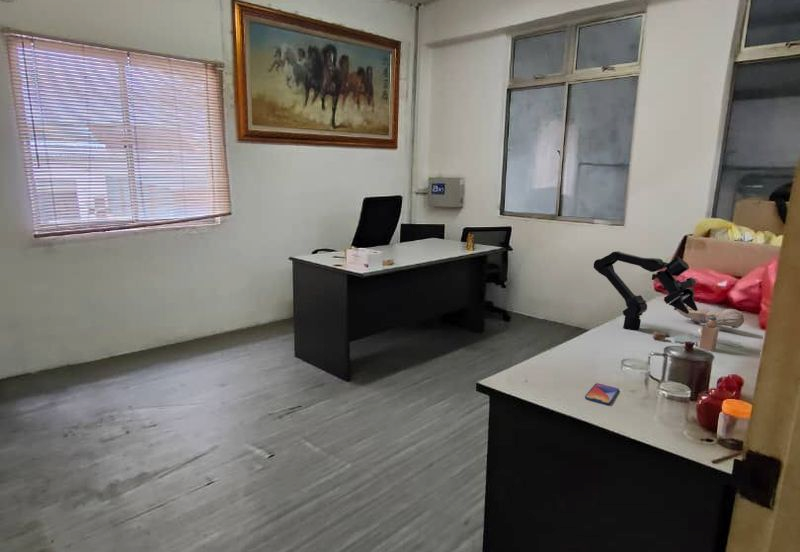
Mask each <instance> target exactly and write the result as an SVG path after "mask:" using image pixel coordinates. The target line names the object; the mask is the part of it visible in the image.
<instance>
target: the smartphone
mask: <svg viewBox="0 0 800 552" xmlns="http://www.w3.org/2000/svg"><path fill="white" fill-rule="evenodd" d="M619 391H620V389H619V388H618V387H615V386H610V385H606V384H602V383H595V384H594V385H593V386H592V387H591V388H590V389H589V390H588V392H587V393H586V394H585V395H584V399H585V400H587V401H590V402H594V403H597V404H601V405H604V406H610V405H611V404H612V403H613V401H614V399H615V397H616V396H617V395H618V393H619Z"/></svg>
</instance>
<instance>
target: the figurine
mask: <svg viewBox="0 0 800 552" xmlns="http://www.w3.org/2000/svg"><path fill="white" fill-rule="evenodd" d="M685 306H686V308H687V309H688V311H689V313H688V314H686V313H684V312H682V311H681V310H679V309H677V308H675V307H673V310H674V311H676V312H678V313H679V315H682V316H683V317H685V318H686V319H690V321H691V322H695V323H698V325H699V326H700V327H702V328H703V326H705V325H708V322H709V316H713V317H717V320H716V322H715V327H717V326H718V327H720V326H726V327H731V329H739V328H741V326H742V325H743V324H744V322H745V317H744V314H743V313H742V312H741V311H738V310H737V309H733V308H727V309H724V310H723V311H722V310H709V309H708V308H700V307H697V309H698V310H697V311H694V310H693V309H691V308H690V307H689V306H687V305H686V304H685Z"/></svg>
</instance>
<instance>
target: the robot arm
mask: <svg viewBox="0 0 800 552" xmlns="http://www.w3.org/2000/svg"><path fill="white" fill-rule="evenodd" d="M618 261H619V262H623V263H626V264H629V265H635V266H638V267H641V268H642V269H643V270H646V271H648V272H650V273H652V274H651V281H655V280H658V282H659V283H660V284H661V285H662V290H663V291H666V292H667V293H668V295H665V297H663V301H664V303H665V304H666V305H669V306H672V307H673V308H677V309H679V310H681V311H682V312H684V313H686V314H688V313H689V311H688V309H687V308H686V306H689V307H690V308H691V309H693V310H694V311H697V310H698V309H697V308H698V307H697V304H696V302H695V298H694V297H695V295H696V290H695V289H694V288H693V287H697V284H696V283H697V281H696V279H694V278H693V277H687V278H686V280H685V281H681V280H679V279H678V280H677V279H676V278H675V277H679V276H680V275H682V274H683V273H684V272H686V271H687V270H689V269H690V266H689V264H688V263H687V262H686V261H685V260H683V259H682V258H680V256H676V257H675V258H673V260H671V261H669V262H665V261H663V260H662V259H661V258H655V257H641V256H637V255H634V254H628V253H625V252H621V251H612V252H611V253H609V254H607V255H606V256H604V257H602V258H598V259H596V260H595V261H594V263H593V269H594V270H595V271H596V272H598V274H600V275H602V276H603V277H605V278H606V279H607V281H609V282H610V283H611V285H612V286H613V287H614V288H615V290H616V291H617V292H618V294H620V296H621V297H622V298H623V300H624V302H625V305H626V308H625V309H624V310H622V314H623V315H622V316H624V320H623V326H622V328H623V329H628V330H633V331H639V330H640V329H641V322H642V320H641V316H643V314H644V313H645V312H646V311H647V310H648V304H647V301H646V300H645V299H644V298H643V296H642V295H641V294H640V295H639V294H638V295H635V294H634V292H632V290H631V289H630V288H629V287H628V286H627V285H626V284H625V282H624V281H623V279H621V277H619V275H618V274H617V273H616V272H615V268H614V264H616V263H617V262H618ZM654 272H657V273H654ZM685 305H686V306H685Z"/></svg>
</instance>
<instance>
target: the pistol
mask: <svg viewBox="0 0 800 552" xmlns="http://www.w3.org/2000/svg"><path fill="white" fill-rule="evenodd" d="M689 334H690V335H691V336H692V335H693V336H695V337H697V338H699V339H701V334H702V328H698V330H691V331H690V333H689ZM717 343H720V344H725V345H730V346H733V347H736V348H737V347H738V348H739V347H740V346H741V342H739V341H736V340H732V339H727V338H722V337H721V336H719V335H718V338H717Z"/></svg>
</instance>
